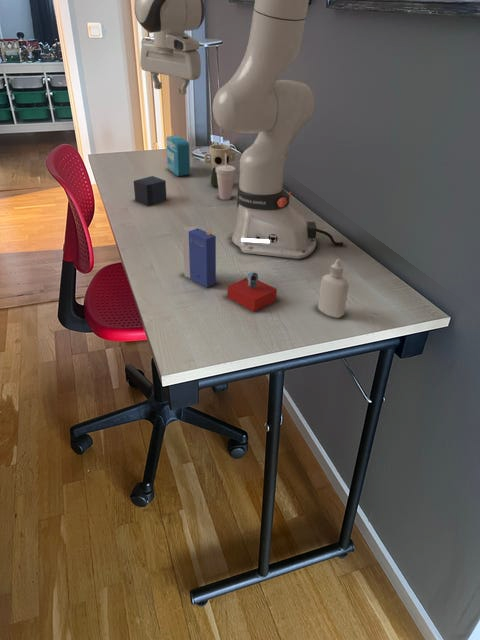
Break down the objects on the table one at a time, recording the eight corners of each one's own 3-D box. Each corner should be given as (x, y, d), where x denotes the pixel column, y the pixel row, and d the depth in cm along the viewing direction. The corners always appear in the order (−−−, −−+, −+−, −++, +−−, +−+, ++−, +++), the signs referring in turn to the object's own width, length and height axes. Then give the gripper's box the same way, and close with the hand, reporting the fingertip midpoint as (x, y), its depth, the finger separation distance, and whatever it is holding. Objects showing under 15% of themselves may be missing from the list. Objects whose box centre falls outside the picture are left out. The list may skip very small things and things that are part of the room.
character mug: (208, 189, 169) (207, 150, 162) (201, 183, 175) (201, 145, 168) (238, 187, 173) (239, 148, 166) (231, 180, 178) (231, 143, 171)
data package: (167, 168, 189) (165, 135, 183) (178, 167, 191) (177, 134, 185) (178, 177, 180) (177, 143, 174) (190, 176, 182) (189, 142, 176)
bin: (147, 206, 155) (146, 185, 152) (135, 200, 159) (133, 180, 155) (166, 200, 160) (165, 180, 156) (153, 195, 163) (152, 175, 160)
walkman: (216, 283, 114) (215, 234, 107) (206, 287, 112) (206, 237, 106) (193, 272, 119) (192, 224, 112) (184, 275, 117) (182, 227, 110)
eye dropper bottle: (334, 304, 107) (342, 252, 101) (346, 317, 103) (354, 265, 96) (315, 306, 106) (322, 254, 100) (326, 320, 102) (333, 267, 95)
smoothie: (236, 195, 166) (236, 151, 158) (233, 201, 160) (234, 157, 153) (216, 194, 166) (216, 150, 158) (214, 200, 161) (213, 156, 153)
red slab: (227, 297, 109) (227, 271, 105) (249, 287, 113) (250, 261, 110) (254, 311, 104) (255, 284, 101) (275, 300, 108) (277, 274, 105)
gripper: (134, 35, 146) (137, 87, 154) (190, 45, 138) (190, 98, 146) (148, 34, 150) (150, 84, 158) (204, 43, 142) (203, 95, 150)
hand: (170, 91), depth 152 cm, fingers open, 8 cm apart
